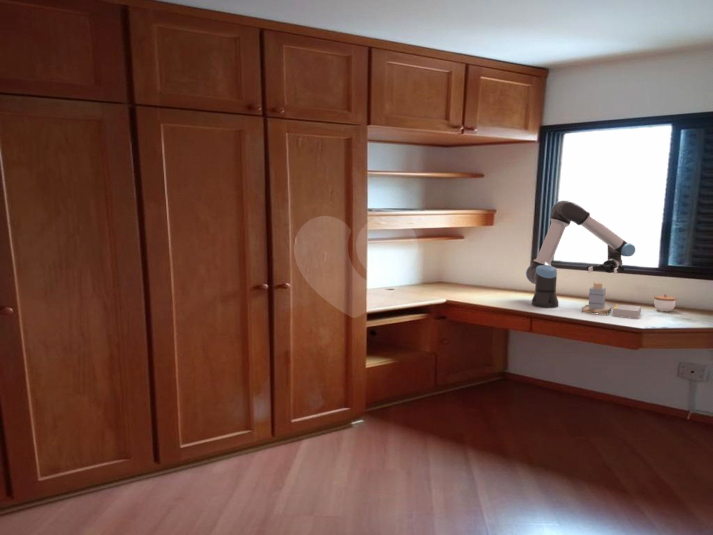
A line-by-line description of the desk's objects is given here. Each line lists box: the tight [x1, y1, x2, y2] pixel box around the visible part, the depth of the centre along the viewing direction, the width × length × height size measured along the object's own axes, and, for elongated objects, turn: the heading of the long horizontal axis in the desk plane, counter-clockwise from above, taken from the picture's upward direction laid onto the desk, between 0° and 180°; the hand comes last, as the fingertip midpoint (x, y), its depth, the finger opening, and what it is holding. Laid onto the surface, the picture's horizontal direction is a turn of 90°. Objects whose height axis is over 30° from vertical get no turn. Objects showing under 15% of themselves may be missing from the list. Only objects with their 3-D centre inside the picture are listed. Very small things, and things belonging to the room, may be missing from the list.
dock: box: [611, 303, 642, 319], centre depth 279 cm, size 12×14×4 cm
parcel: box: [592, 281, 603, 289], centre depth 285 cm, size 4×4×3 cm
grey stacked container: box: [588, 286, 607, 309], centre depth 286 cm, size 7×7×11 cm
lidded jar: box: [653, 293, 677, 312], centre depth 289 cm, size 11×11×9 cm
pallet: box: [581, 304, 612, 316], centre depth 286 cm, size 13×13×2 cm
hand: (601, 270), depth 292 cm, fingers open, 13 cm apart
